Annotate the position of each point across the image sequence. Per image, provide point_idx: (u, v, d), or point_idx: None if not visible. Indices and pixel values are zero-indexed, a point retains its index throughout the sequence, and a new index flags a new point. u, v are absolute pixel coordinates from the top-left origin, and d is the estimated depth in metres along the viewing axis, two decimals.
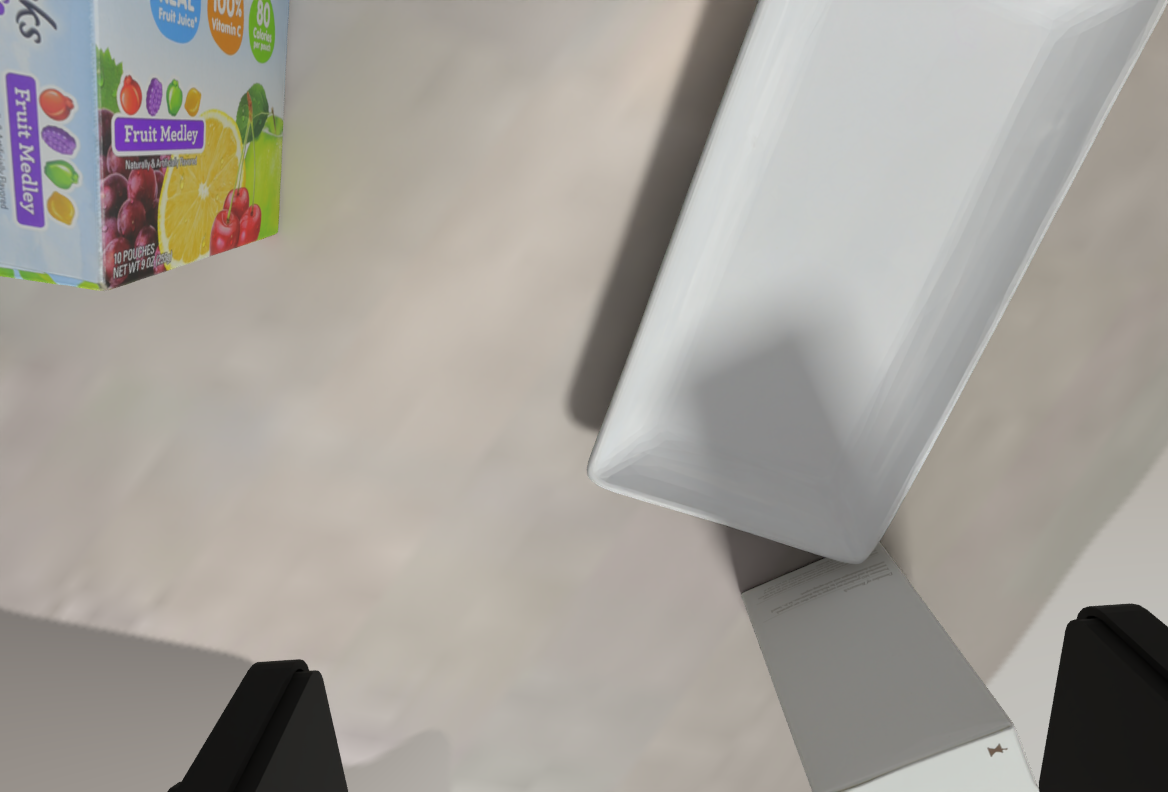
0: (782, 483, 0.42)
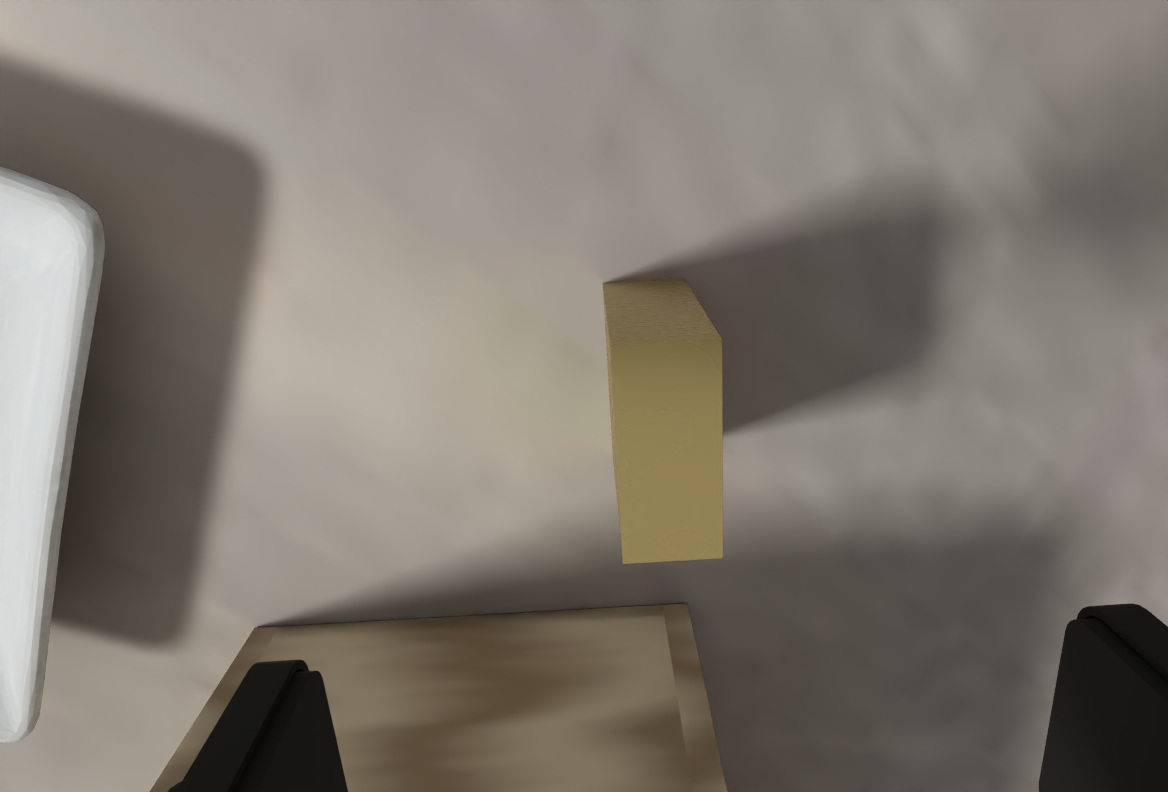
0: None
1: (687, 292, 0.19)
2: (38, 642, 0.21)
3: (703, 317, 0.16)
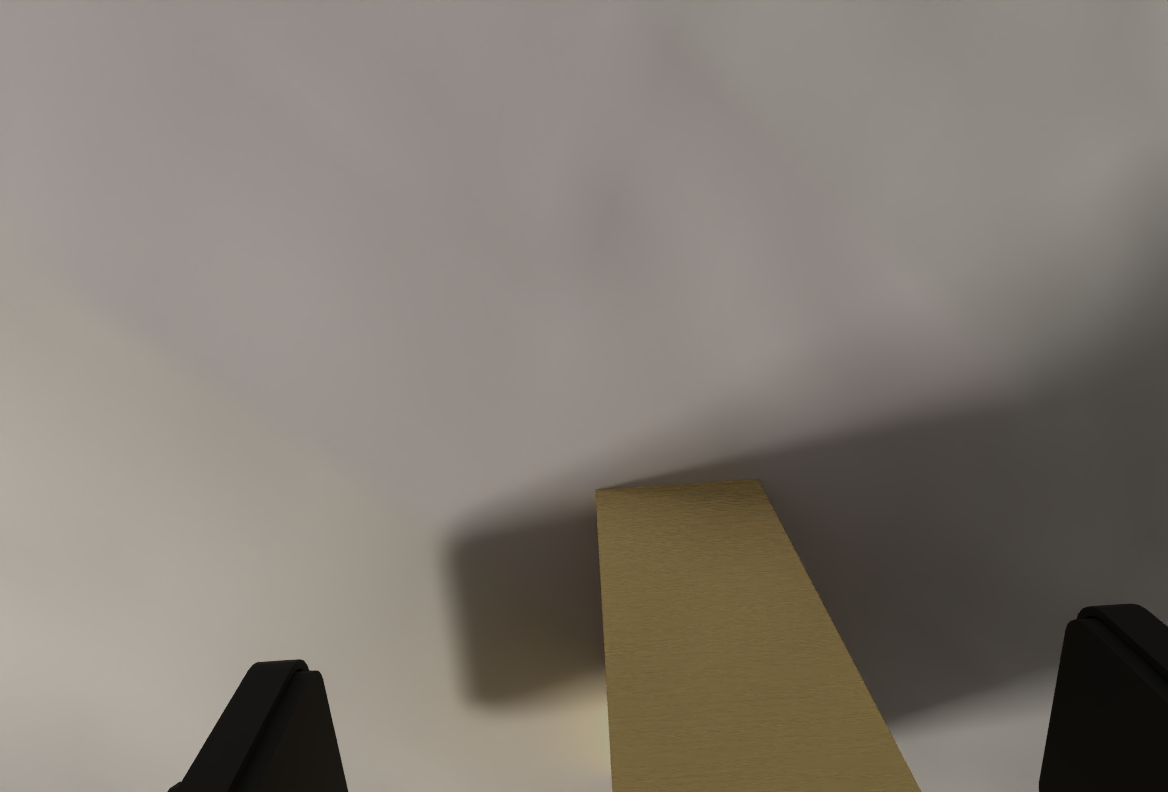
0: None
1: (782, 548, 0.08)
2: None
3: (864, 706, 0.06)
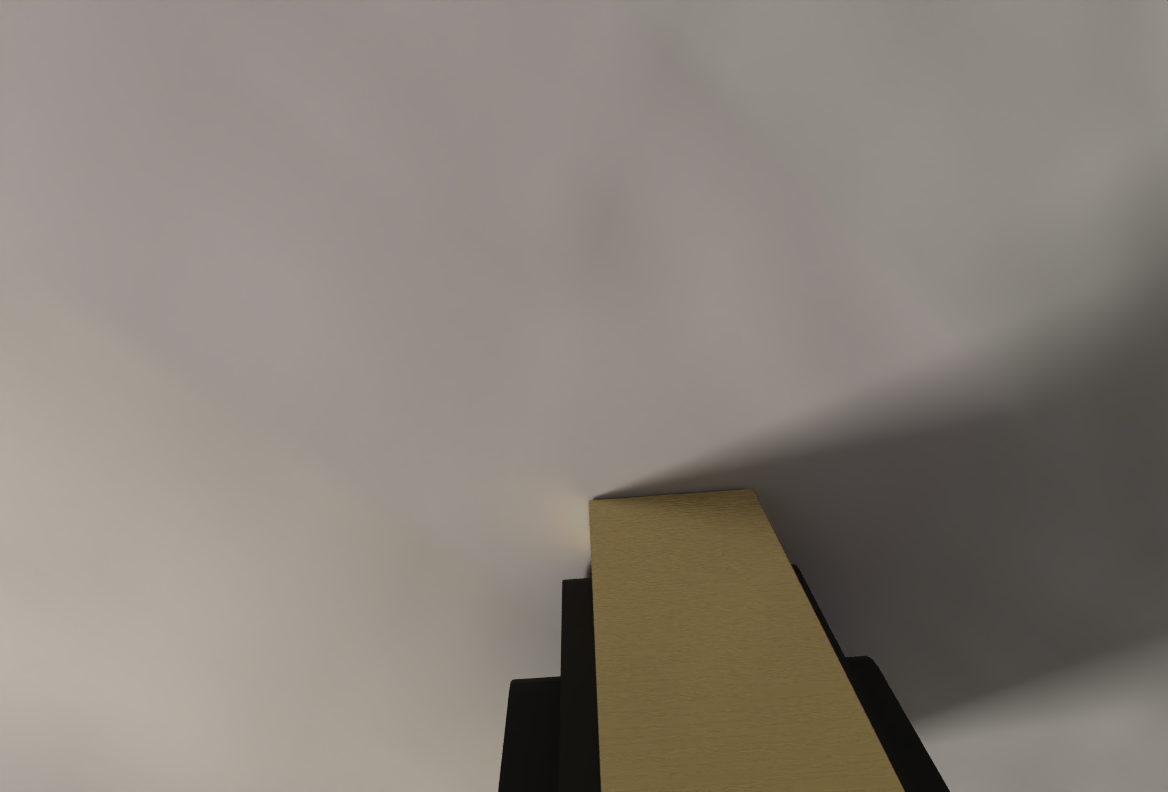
0: None
1: (777, 560, 0.08)
2: None
3: (859, 726, 0.06)
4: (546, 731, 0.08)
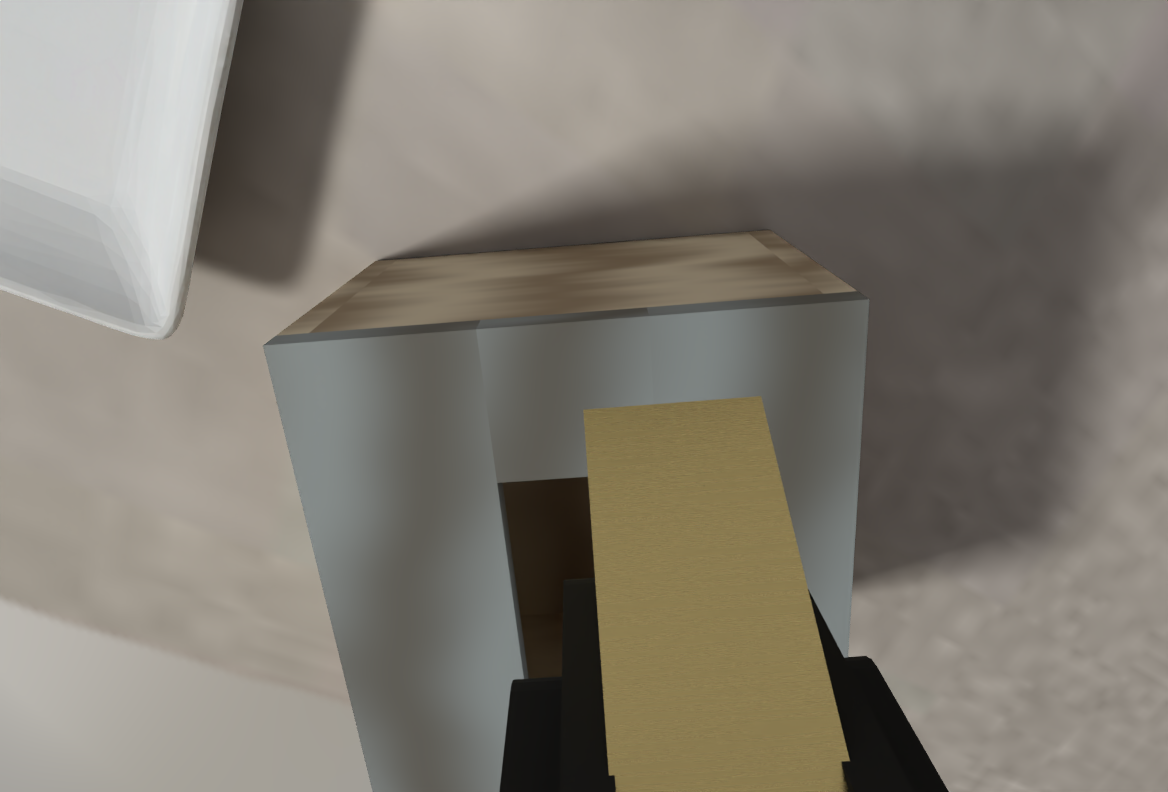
0: None
1: (781, 527, 0.08)
2: (191, 230, 0.23)
3: (842, 777, 0.07)
4: (547, 732, 0.08)
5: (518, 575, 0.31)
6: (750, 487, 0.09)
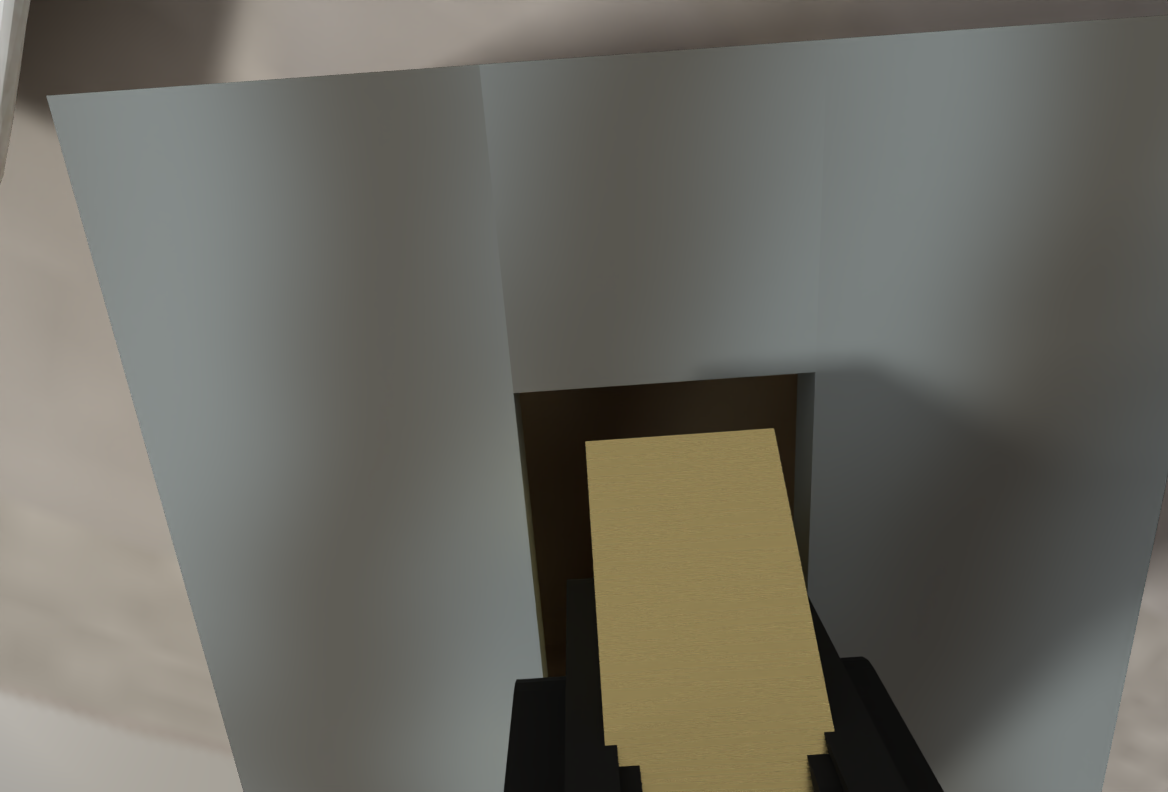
0: None
1: (792, 580, 0.08)
2: (9, 30, 0.15)
3: None
4: (551, 731, 0.08)
5: None
6: (761, 534, 0.08)
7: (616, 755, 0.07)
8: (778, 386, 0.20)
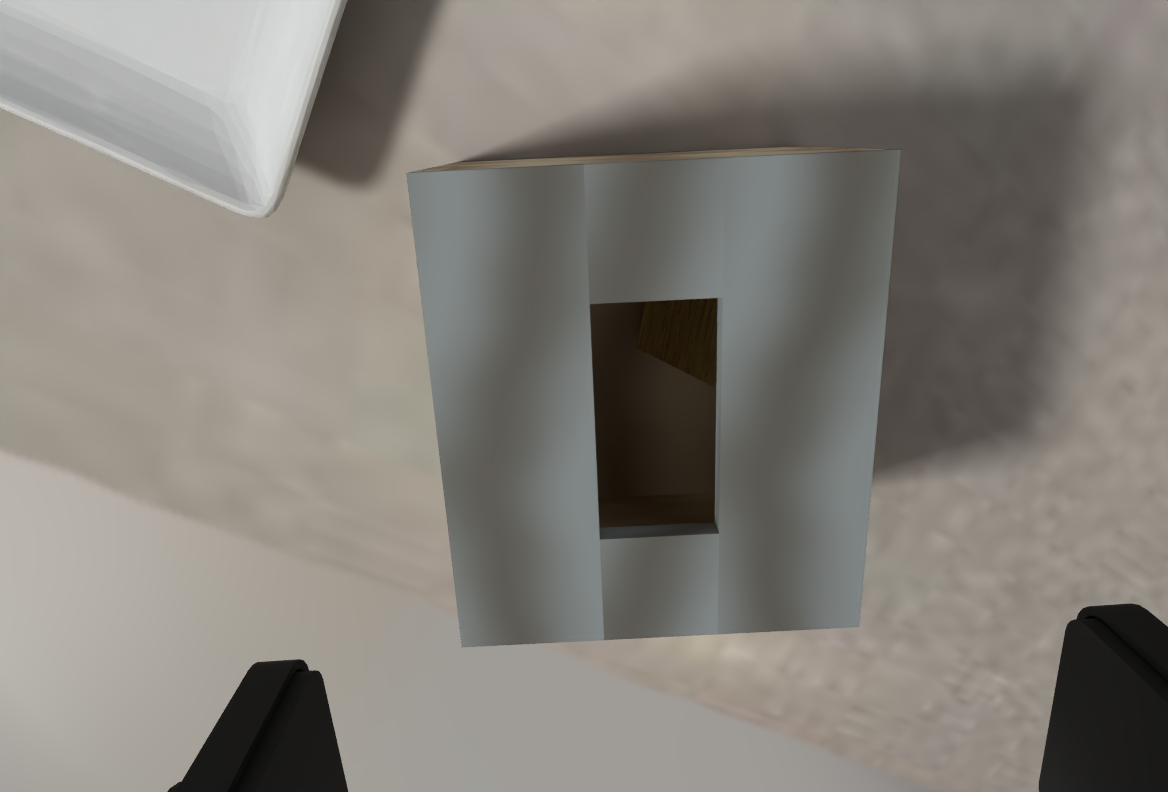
0: None
1: None
2: (302, 121, 0.27)
3: None
4: None
5: None
6: None
7: None
8: None
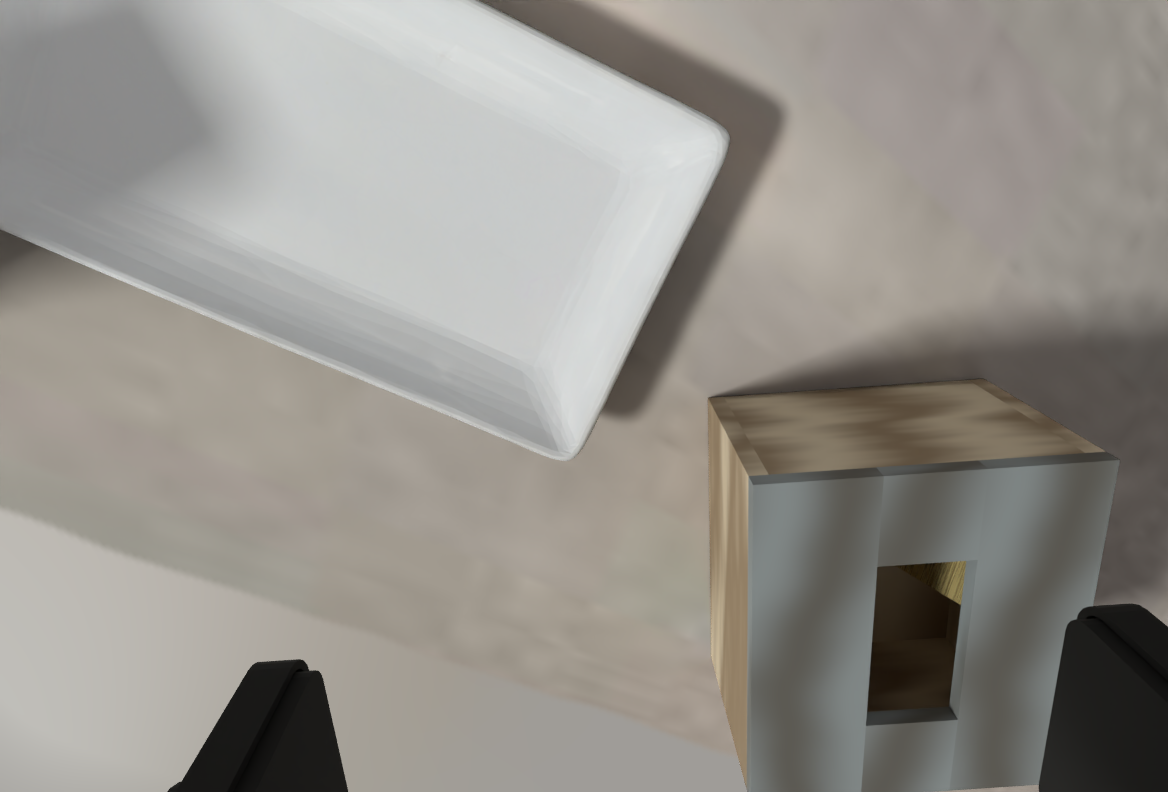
0: (13, 79, 0.32)
1: None
2: (607, 393, 0.35)
3: None
4: None
5: None
6: None
7: None
8: None
